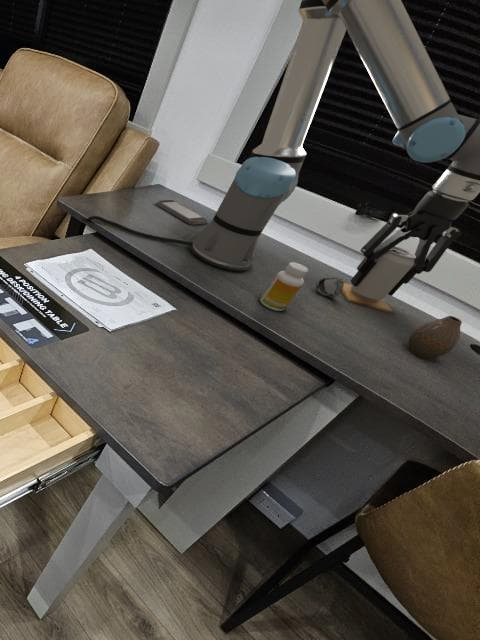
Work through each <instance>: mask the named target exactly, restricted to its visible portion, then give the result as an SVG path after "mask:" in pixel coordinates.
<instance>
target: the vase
mask: <svg viewBox="0 0 480 640" xmlns="http://www.w3.org/2000/svg"><path fill="white" fill-rule="evenodd" d="M462 323H463V321H462V319H460V318H458V317H456V316H453V315H447V316H445V317H442V318H438V319H434V320H431V321H427V322H425V323H423V324H421V325H420V326H418V327H417V328H416V329H414V331H413V332H412V333H411V334H410V336H409V338H408V341H407V343H408V344H407V345H408V349H409V350H410V352H412V354H415V355H417V356H418V357H421V358H424V359H436V358H440V357H442V356H445V355H446V354H447V353H450V352H451V351H452V350H453V349H454V348H455V347H456V346H457V344H458V343H459V341H460V339H461V327H462V326H461V325H462Z"/></svg>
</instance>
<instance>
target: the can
mask: <svg viewBox="0 0 480 640" xmlns="http://www.w3.org/2000/svg"><path fill="white" fill-rule="evenodd" d="M415 258H416V256H415V253H413V252H411V251H409V250H407V249H404V248H402V247H399V246H397V245H396V246H394V247H393V248H391V249H390V250H388V251H387V252H385V253H384V254H382V255H381V256H379V257H378V258H377V259H375V261H376V264H375V265H374V266H373V268H372V269H371V270H370V271H369V272H368V274H367V275H366V276H365V277H364V278H363V280H362V281H361V282H360V283H359V284H358V286H353V284H352V283H350V284H351V289H352V290H351V291H352V292H353V293H354V294H355V295H357V296H359V297H361V298H363V299H366V300H369V301H378V300H382V299H384V300H385V298H386V297H387V296H388V293H389V292H390V291H391V290H392V289H393V288H394V287H395V285H396V284H397V283H398V282H399V281H400V280H401V279H402V278H403V277H404V275H405V274H406V273H407V272H408V271H409V270H410V269H411V268H412V267H413V265H414V259H415Z"/></svg>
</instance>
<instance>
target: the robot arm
mask: <svg viewBox="0 0 480 640" xmlns="http://www.w3.org/2000/svg"><path fill="white" fill-rule="evenodd" d="M297 12H298V14H299V16H300V17H301V19H302V23H301V25H300V29H299V31H298V35H297V37H296V40H295V44H294V46H293V50H292V52H291V56H290V59H289V61H288V64H287V67H286V70H285V73H284V77H283V79H282V82H281V85H280V88H279V91H278V94H277V97H276V100H275V103H274V106H273V108H272V112H271V115H270V118H269V121H268V124H267V126H266V130H265V132H264V136H263V139H262V141H261V143H260V144H259V145H257V146H256V147H255V148H253V149H252V151H251V154H250V157H249V158H247V159H246V160H245V161H243V163H242V164H241V166H240V167H239V169H237V170H236V173H235V176H234V178H233V181H232V182H231V184H230V186H229V188H228V190H227V192H226V194H225V195H224V197H223V199H222V201H221V203H220V205H219V206H218V209H217V210H216V212H215V214H214V216H213V218H212V220H211V221H210V222H209V223H208V224H207V225H206V226H205V227H204V228H203V230H201V231H200V233H199V234H198V235H197V236H196V237H195V238H194V239H193V241H189V240H182V239H177V238H176V239H175V238H169V237H163V236H159V235H153V234H148V233H144V232H141V231H138V230H135V229H131V228H129V227H128V226H124V225H122V224H120V223H118V222H115V221H112V220H109V219H106V218H104V217H102V216H98V215H91V216H89V217H86V218H85V219H84V221H85V222H90V221H92V220H93V221H94V220H97V221H100V222H102V223H104V224H106V225H110V226H113V227H115V228H117V229H120V230H122V231H125V232H127V233H129V234H132V235H135V236H139V237H143V238H146V239H151V240H155V241H160V242H166V243H171V244H178V245H184V246H190V247H189V250H190V252H191V253H192V254H193V255H194V256H195V257H196V258H197V259H199V260H201V261H202V262H204V263H206V264H208V265H210V266H213V267H216V268H217V269H222V270H224V271H229V272H245V271H247V270H248V269H249V268H250V267H251V265H252V264H253V261H254V258H255V253H256V249H257V245H258V241H259V238H260V236H261V235H262V233H263V231H264V229H265V228H266V227H267V225H268V223H269V222H270V220H271V218H272V217H273V215H274V213H275V212H276V211H277V209H278V207H279V206H280V205H281V204H282V203H283V202H285V201H286V200H287V199H288V198H289V197H290V196H291V195H292V194H293V192H294V191H295V189H296V187H297V185H298V182H299V177H300V176H299V175H300V171H301V168H302V166H303V163H304V161H305V158H306V156H307V152H306V151H305V149H304V148H303V144H304V141H305V139H306V136H307V133H308V130H309V128H310V125H311V124H312V121H313V118H314V115H315V114H316V113H315V112H316V110H317V108H318V105H319V102H320V99H321V97H322V94H323V92H324V89H325V86H326V84H327V81H328V78H329V76H330V74H331V72H332V71H331V70H332V68H333V66H334V63H335V60H336V57H337V55H338V52H339V50H340V47H341V45H342V41H343V39H344V36H345V35H346V32H347V33H348V36H349V38H350V39H351V42H352V43H353V45H354V48H355V50H356V51H357V53H358V55H359V57H360V59H361V60H362V62H363V65H364V67H365V68H366V70H367V72H368V74H369V76H370V78H371V80H372V82H373V84H374V86H375V88H376V90H377V92H378V94H379V96H380V97H381V99H382V102H383V103H384V105H385V107H386V109H387V111H388V113H389V115H390V117H391V119H392V121H393V123H394V125H395V127H396V128H397V132H396V134H395V136H394V137H393V139H392V143H393V145H395V146H398V147H401V148H402V149H404V150H406V153H407V154H408V156H409V158H410V159H411V160H413V161H415V162H419V163H424V164H425V163H435V162H438V161H441V160H444V159H445V160H449V161H452V162H451V163H450V164H449V166H448V167H447V168H446V169H445V171H444V172H443V173H442V174H441V175H440V176H439V177H438V179H437V180H436V181H435V183H434V184H433V185H432V186H431V188H432V190H430V191H427V193H425V195H423V197H422V198H421V200H420V201H418V203H417V204H416V206H415V207H414V210H412V211H411V212H409V213H408V214H398V212H393V213H392V214H391V215H390V217H389V218H388V220H387V222H386V223H385V224H384V225H383V226H382V227H381V228H380V229H379V230H378V231H377V232H376V233H375V234H374V235H372V237H371V238H370V239H369V240H368V241H367V242H366V243H365V244H364V245H363V246H362V247H361V248H360V251H359V252H360V253H361V254H362V255H363V256H364V258H363V259H362V260H361V262H359V264H358V266H357V267H356V270H357V272H356V273H355V274H354V276H352V278H351V279H350V280H349V281H350V284H353V286H358V284H359V283H360V282H361V281H362V280H363V278H364V277H365V276H366V275H367V274H368V272H369V271H370V270H371V269H372V268H373V266H374V265H375V264H376V261H375V259H377V258H378V257H379V256H381V255H382V254H384V253H385V252H387V251H388V250H390V249H391V248H393V247H394V246H396V247H397V245H399V244H400V243H402V242H403V241H406V240H409V239H410V238H418V244H417V247H416V250H415V252H414V255H415V256H416V258H415V259H414V265H413V267H412V268H411V269H410V270H409V271H408V272H407V273H406V274H405V275H404V277H403V278H402V279H401V280H400V281H399V282H398V283H397V284H396V285H395V287H394V288H393V289H392V290H391V291H390V292H389V293H388V294H387V296H390V297H393V295H394V294H395V293H396V292H397V291H398V290H399V289H400V288H401V287H402V285H404V284H405V285H407V284H408V283H409V282H410V281H412V279H413V278H414V277H415V276H416V275H421V274H422V273H423V272H425V273H430V272H431V271H432V270H433V269H434V268H435V266H436V265H437V263H438V262H439V260H441V258H442V256H444V254H445V252H446V251H447V250H448V248H449V247H450V245H452V243H453V242H454V241H455V240H456V239H457V238H460V236H461V235H462V231H460V229H458V228H457V227H453V226H452V224H453V222H454V221H455V220H457V219H458V218H459V216H461V214H463V212H464V211H465V210H466V209H467V208H468V207H469V203H470V201H473V200H474V199H476V198H477V196H478V195H479V194H480V119H479V118H474V117H469V116H466V115H462V114H460V113H459V114H458V112H457V110H456V107H455V106H454V104H453V102H452V101H451V98H450V96H449V94H448V92H447V89H446V88H445V86H444V83H443V82H442V80H441V78H440V76H439V74H438V72H437V70H436V68H435V65H434V63H433V62H432V60H431V57H430V56H429V53H428V52H427V50H426V47H425V45H424V43H423V41H422V39H421V37H420V36H419V34H418V32H417V30H416V27H415V26H414V24H413V22H412V19H411V18H410V16H409V13H408V12H407V9H406V7H405V5H404V3H403V2H402V0H301V1H300V5H299V8H298V11H297ZM402 223H404V225H403V226H402V227H400V228H399V229H398V230H397V231H396V232H395V233H394V234H393V235H392V233H393V232H394V231H395V230H396V229H397V228H398V227H399V226H401V225H402ZM440 234H442V235H441V236H440V237H439V239H438V240H437V242H436V243H435V244H434V241H435V238H436V236H438V235H440ZM390 235H391V236H390ZM389 236H390V237H389ZM433 244H434V246H433V247H432V249H431V250H430V248H431V246H432V245H433Z"/></svg>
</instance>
